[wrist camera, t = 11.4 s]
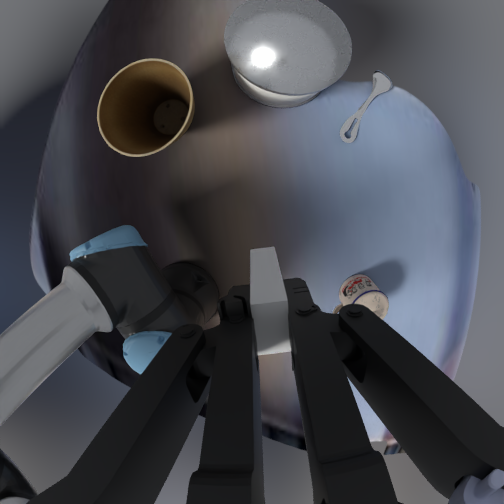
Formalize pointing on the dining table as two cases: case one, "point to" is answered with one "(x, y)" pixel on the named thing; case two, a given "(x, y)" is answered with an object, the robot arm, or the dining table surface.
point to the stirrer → (366, 104)
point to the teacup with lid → (363, 295)
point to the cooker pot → (270, 94)
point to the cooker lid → (288, 45)
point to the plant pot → (145, 107)
